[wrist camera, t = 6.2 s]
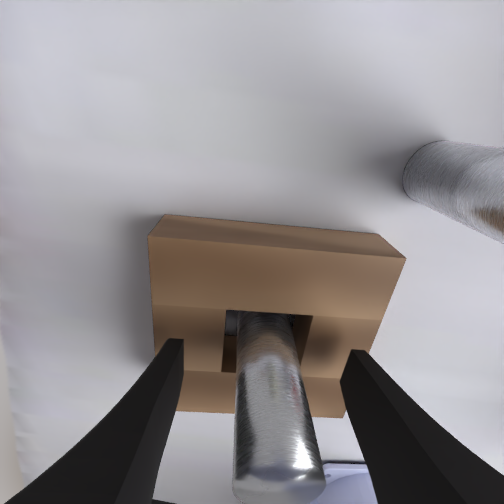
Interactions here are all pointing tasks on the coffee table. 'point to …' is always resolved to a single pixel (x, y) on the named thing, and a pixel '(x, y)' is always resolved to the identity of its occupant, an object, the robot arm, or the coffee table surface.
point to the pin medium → (272, 417)
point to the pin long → (460, 184)
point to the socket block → (267, 299)
